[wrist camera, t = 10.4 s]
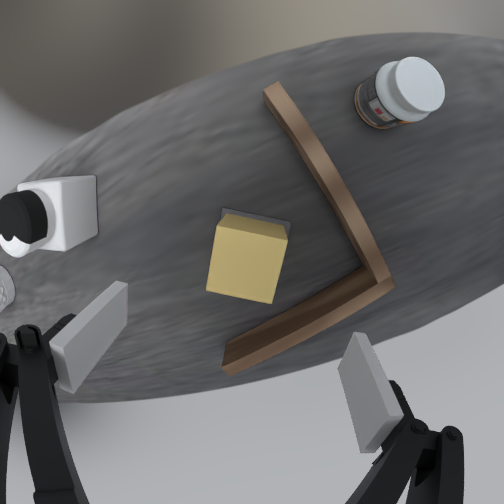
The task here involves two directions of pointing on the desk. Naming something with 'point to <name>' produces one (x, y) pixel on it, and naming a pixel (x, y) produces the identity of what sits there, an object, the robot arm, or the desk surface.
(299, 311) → the angled wooden barrier
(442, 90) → the pill bottle
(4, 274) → the white cup
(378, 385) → the robot arm
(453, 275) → the desk surface
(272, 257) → the cube
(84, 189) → the medicine bottle
